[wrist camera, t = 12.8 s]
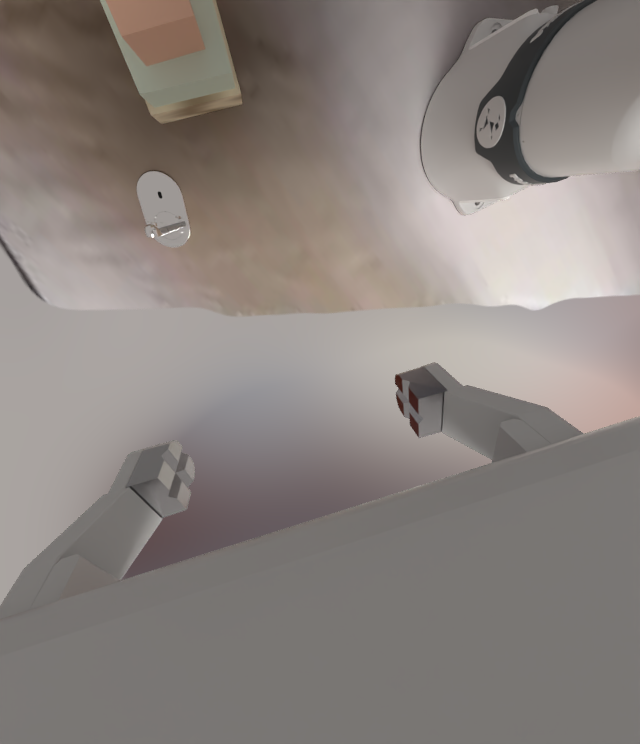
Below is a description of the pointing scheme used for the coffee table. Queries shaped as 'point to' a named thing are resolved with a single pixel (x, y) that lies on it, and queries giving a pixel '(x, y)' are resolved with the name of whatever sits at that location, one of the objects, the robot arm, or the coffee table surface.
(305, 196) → the coffee table surface
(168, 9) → the terracotta block
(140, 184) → the stand
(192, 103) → the tower base
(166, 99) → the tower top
